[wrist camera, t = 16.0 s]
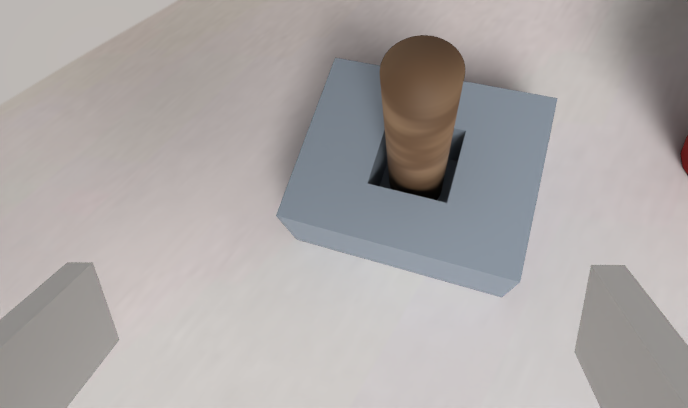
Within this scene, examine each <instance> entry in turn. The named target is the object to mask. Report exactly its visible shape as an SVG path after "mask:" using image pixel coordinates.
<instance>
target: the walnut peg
mask: <svg viewBox="0 0 688 408" xmlns="http://www.w3.org/2000/svg"><path fill="white" fill-rule="evenodd" d="M464 76H465V64H464V60H463V58H462V56H461V54H460V53H459V51H458V50H457V49H456V48H455V47H454V46H453V45H452V44H450V43H449V42H447V41H445V40H443V39H441V38H438V37H434V36H427V35H421V36H414V37H409V38H406V39H404V40H402V41H400V42H398V43H396V44H395V45H394V46H392V47H391V48H390V49H389V50H388V52H387V53H386V54H385V56H384V58H383V60H382V62H381V65H380V84H381V95H382V106H383V117H384V128H385V139H386V150H387V161H388V172H389V183H390V189H392V190H396V191H400V192H404V193H408V194H413V195H417V196H421V197H425V198H429V199H433V200H437V199H438V198H439V196H440V194H441V191H442V186H443V181H444V176H445V171H446V166H447V161H448V156H449V151H450V146H451V141H452V136H453V131H454V126H455V121H456V116H457V111H458V106H459V101H460V96H461V91H462V86H463V81H464Z"/></svg>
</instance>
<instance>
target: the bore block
mask: <svg viewBox="0 0 688 408" xmlns="http://www.w3.org/2000/svg"><path fill="white" fill-rule="evenodd" d="M556 102H557V98H553V97H547V96H542V95H537V94H531V93H526V92H520V91H515V90H509V89H504V88H498V87H493V86H487V85H482V84H477V83H471V82H466V81H463V86H462V91H461V96H460V101H459V106H458V111H457V116H456V121H455V126H454V131H453V136H452V141H451V146H450V151H449V156H448V161H447V166H446V171H445V176H444V181H443V186H442V191H441V194H440V196H439V198H438V199H437V200H433V199H429V198H425V197H421V196H417V195H413V194H408V193H404V192H400V191H396V190H392V189H390V183H389V172H388V161H387V150H386V139H385V128H384V117H383V106H382V95H381V84H380V66H379V65H373V64H368V63H362V62H357V61H351V60H346V59H340V58H335V60H334V62H333V65H332V68H331V70H330V73H329V76H328V78H327V81H326V84H325V86H324V89H323V92H322V94H321V97H320V100H319V102H318V105H317V108H316V110H315V113H314V116H313V118H312V121H311V124H310V126H309V129H308V132H307V134H306V137H305V140H304V142H303V145H302V148H301V150H300V153H299V156H298V158H297V161H296V164H295V166H294V169H293V172H292V174H291V177H290V180H289V182H288V185H287V188H286V191H285V193H284V196H283V199H282V201H281V204H280V207H279V209H278V212H277V215H276V216H277V217H278V219H279V220H280V221H281V222H282V223H283V224H284V225H285V227H286V228H287V229H288V230H289V231H290V232H291V234H292V235H293V236H294V237H295V238H296V239H297V240H301V241H304V242H308V243H311V244H315V245H318V246H322V247H325V248H329V249H332V250H336V251H340V252H343V253H347V254H350V255H354V256H357V257H361V258H364V259H368V260H371V261H375V262H379V263H382V264H386V265H389V266H393V267H396V268H400V269H403V270H407V271H410V272H414V273H418V274H421V275H425V276H428V277H432V278H435V279H439V280H442V281H446V282H449V283H453V284H457V285H460V286H464V287H467V288H471V289H474V290H478V291H481V292H485V293H488V294H492V295H496V296H499V297H503V296H504V295H505V294H506V293H508V292H509V291H510V290H511V289H512V288H514V287H515V286H516V285H517V284H518V283H520V280H521V275H522V270H523V265H524V260H525V255H526V250H527V245H528V240H529V235H530V230H531V226H532V221H533V216H534V211H535V206H536V201H537V196H538V191H539V186H540V181H541V176H542V171H543V166H544V162H545V157H546V152H547V147H548V142H549V137H550V132H551V127H552V122H553V117H554V112H555V107H556Z"/></svg>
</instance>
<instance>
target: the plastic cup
mask: <svg viewBox="0 0 688 408" xmlns="http://www.w3.org/2000/svg"><path fill="white" fill-rule="evenodd" d="M681 159H682V166H683V168H684V170H685V171H686V173H687V174H688V135H687V137H686V140H685V143H684V145H683V148H682V151H681Z"/></svg>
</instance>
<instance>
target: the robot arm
mask: <svg viewBox="0 0 688 408" xmlns="http://www.w3.org/2000/svg"><path fill="white" fill-rule="evenodd" d="M118 341H119V337H118V334H117V331H116V328H115V326H114V323H113V320H112V317H111V314H110V311H109V308H108V305H107V302H106V300H105V297H104V294H103V291H102V288H101V285H100V282H99V279H98V276H97V274H96V271H95V268H94V265H93V263H66V264H65V265H64V266H63V267H62V268H60V269H59V270H58V271H57V272H56V273H55V274H53V275H52V276H51V277H50V278H49V279H48V280H46V281H45V282H44V283H43V284H42V285H41V286H39V287H38V288H37V289H36V290H35V291H34V292H32V293H31V294H30V295H29V296H28V297H27V298H25V299H24V300H23V301H22V302H21V303H20V304H18V305H17V306H16V307H15V308H14V309H13V310H11V311H10V312H9V313H8V314H7V315H6V316H4V317H3V318H2V319H1V320H0V408H67V406H68V405H69V404H70V403H71V401H72V400H73V399H74V397H75V396H76V395H77V394H78V392H79V391H80V390H81V388H82V387H83V386H84V385H85V383H86V382H87V381H88V379H89V378H90V377H91V376H92V374H93V373H94V372H95V370H96V369H97V368H98V367H99V365H100V364H101V363H102V361H103V360H104V359H105V357H106V356H107V355H108V354H109V352H110V351H111V350H112V348H113V347H114V346H115V345H116V343H117V342H118ZM575 354H576V356H577V358H578V360H579V363H580V365H581V367H582V369H583V371H584V373H585V375H586V377H587V380H588V382H589V384H590V386H591V388H592V390H593V392H594V395H595V397H596V399H597V401H598V403H599V405H600V407H601V408H688V345H687V344H686V343H685V342H684V340H683V339H682V338H681V336H680V335H679V334H678V333H677V331H676V330H675V329H674V328H673V326H672V325H671V324H670V322H669V321H668V320H667V319H666V317H665V316H664V315H663V313H662V312H661V311H660V310H659V308H658V307H657V306H656V305H655V303H654V302H653V301H652V299H651V298H650V297H649V296H648V294H647V293H646V292H645V290H644V289H643V288H642V287H641V285H640V284H639V283H638V282H637V280H636V279H635V278H634V276H633V275H632V274H631V273H630V271H629V270H628V269H627V268H626V266H625V265H591V269H590V274H589V279H588V284H587V289H586V295H585V300H584V305H583V310H582V315H581V320H580V326H579V331H578V336H577V341H576V346H575Z"/></svg>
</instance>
